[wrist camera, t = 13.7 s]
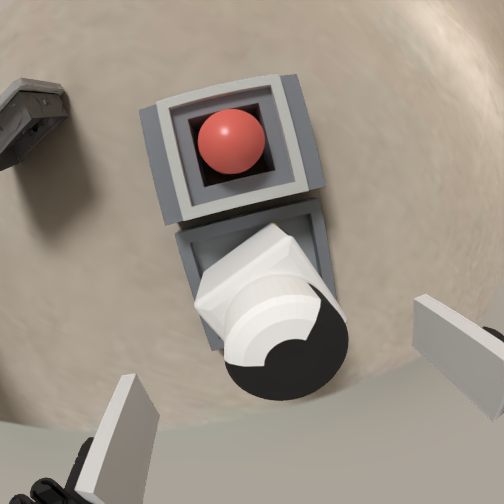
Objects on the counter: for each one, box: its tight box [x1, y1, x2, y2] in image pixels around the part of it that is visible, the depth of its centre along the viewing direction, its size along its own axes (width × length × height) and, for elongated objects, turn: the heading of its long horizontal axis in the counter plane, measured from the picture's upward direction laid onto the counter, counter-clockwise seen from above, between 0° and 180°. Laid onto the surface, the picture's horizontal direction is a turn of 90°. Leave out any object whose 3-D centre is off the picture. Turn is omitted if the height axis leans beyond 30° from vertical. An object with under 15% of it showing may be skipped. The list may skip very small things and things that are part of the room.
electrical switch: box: [0, 78, 69, 171], centre depth 17 cm, size 9×5×9 cm, turn 119°
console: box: [139, 74, 337, 351], centre depth 22 cm, size 12×21×5 cm, turn 13°
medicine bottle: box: [194, 222, 349, 401], centre depth 18 cm, size 7×7×12 cm
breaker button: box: [198, 109, 265, 175], centre depth 20 cm, size 4×4×4 cm
